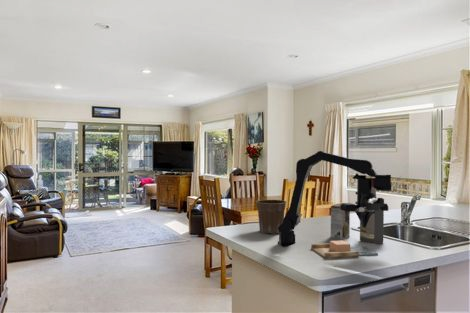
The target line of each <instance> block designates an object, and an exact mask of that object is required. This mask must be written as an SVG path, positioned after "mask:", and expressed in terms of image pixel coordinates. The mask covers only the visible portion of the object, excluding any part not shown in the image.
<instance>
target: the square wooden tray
mask: <svg viewBox="0 0 470 313" xmlns="http://www.w3.org/2000/svg"><path fill="white" fill-rule="evenodd" d="M310 248H311V250H312V251H313V252H315V253H316V254H317V255H319V256H321V257H322V258H323V259H325V260H331V259H348V258H349V259H350V258H352V259H353V258H354V259H355V258H359V257H360V256H359V252H358V251H351V252H333V251H332V250H330V242H329V243H311V247H310Z"/></svg>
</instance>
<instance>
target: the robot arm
mask: <svg viewBox="0 0 470 313" xmlns="http://www.w3.org/2000/svg"><path fill="white" fill-rule="evenodd" d="M321 161H323V162H328V163H332V164H336V165H338V166H342V167H347V168H349V169H351V170H353V171H355V172H356V173H355V174H354V175H353V177H352V179H354V180H356V181H357V185H356V186H357V187H356V191H355V195H356V201H355V203H353V202H352V203H351V202H342V203H340V204H341V206H340V209H341V210H343V211H347V212H351V213H352V212H355V214H356V215H357V217H358V219H359V223H360V222H361V225H362V227H363V228H366V225H367V223H368V220H369V218H370V216H371V215H372V214H373V213H375V211H374V210H377V211H378V210H379V209H380V210H381V211H384V212H387V211H388V212H389V205H388V204H387V203H385V199H384V198H383V197H378V198H377V197H376V198H374V193H372V180H374V184H373V185H374V188H375V189H376V192H392V175H391V174H389V173H388V174H378V173H377V172H376V171H375V169H373V163H372V162H371V161H370V160H368V159H360V158H349V157H345V156H340V155H337V154H334V153H329V152H325V151H324V150H319V151H317V152H315V153H314V154H312V155H310V156H308V157H306V158H301V159H298V160H297V162H296V163H295V164H296V166H295V173H296V174H295V175H296V178H295V183H294V187H293V192H292V196H291V200H290V203H289V208H288V210H287V211H286V213H285V214H284V220H283V223H282V224H281V225H280V226H279V227H278V230H279V234H278V241H277V243H278V244H279V246H281V247H291V246H293V245H295V244H296V234H295V228H296V227H297V226H298V225H299V224H300V223H301V217H302V216H303V214H302V213H300V206H301V202H302V198H303V194H304V189H305V186H306V185H305V184H306V181H307V178H308V177H309V175H310V173H311V171H312V169H313V167H314V166H315V165H316V164H318V163H320V162H321ZM359 173H360V174H359ZM367 176H369V177H367Z"/></svg>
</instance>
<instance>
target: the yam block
mask: <svg viewBox="0 0 470 313" xmlns="http://www.w3.org/2000/svg"><path fill="white" fill-rule="evenodd" d="M329 243H330V250H332V251H333V252H350V247H351V243H349V242H347V241H345V240H344V239H340V240H330V241H329Z"/></svg>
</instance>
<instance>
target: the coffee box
mask: <svg viewBox="0 0 470 313" xmlns="http://www.w3.org/2000/svg"><path fill="white" fill-rule="evenodd" d="M341 204H342V203H338V204H334V205H331V206H330V238H335V239H340V240H346V239H349V238H350V231H351V230H350V229H351V228H350V216H351V215H350V212H347V211H343V210H341V209H340V206H341Z"/></svg>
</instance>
